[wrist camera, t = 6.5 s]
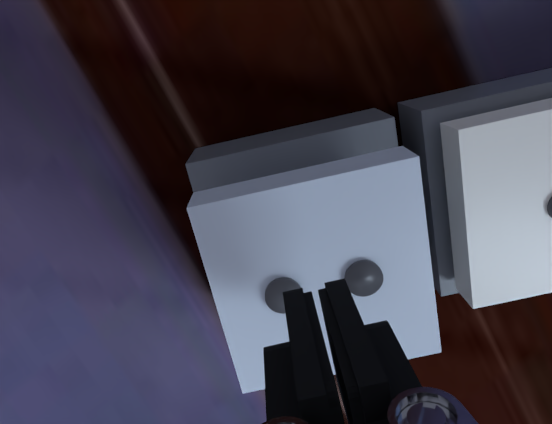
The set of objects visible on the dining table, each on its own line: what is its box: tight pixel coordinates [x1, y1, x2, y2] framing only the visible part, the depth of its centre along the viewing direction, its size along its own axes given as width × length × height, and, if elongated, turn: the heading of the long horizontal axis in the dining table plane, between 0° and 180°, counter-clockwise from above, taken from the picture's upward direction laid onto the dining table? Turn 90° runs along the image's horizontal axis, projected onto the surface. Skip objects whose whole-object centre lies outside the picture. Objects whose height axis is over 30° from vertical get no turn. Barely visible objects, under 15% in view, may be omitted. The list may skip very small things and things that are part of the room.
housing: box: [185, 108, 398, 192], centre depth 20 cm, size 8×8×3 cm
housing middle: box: [397, 68, 552, 296], centre depth 19 cm, size 8×8×3 cm
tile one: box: [440, 98, 552, 309], centre depth 18 cm, size 7×7×5 cm
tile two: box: [186, 146, 441, 393], centre depth 17 cm, size 7×7×5 cm
